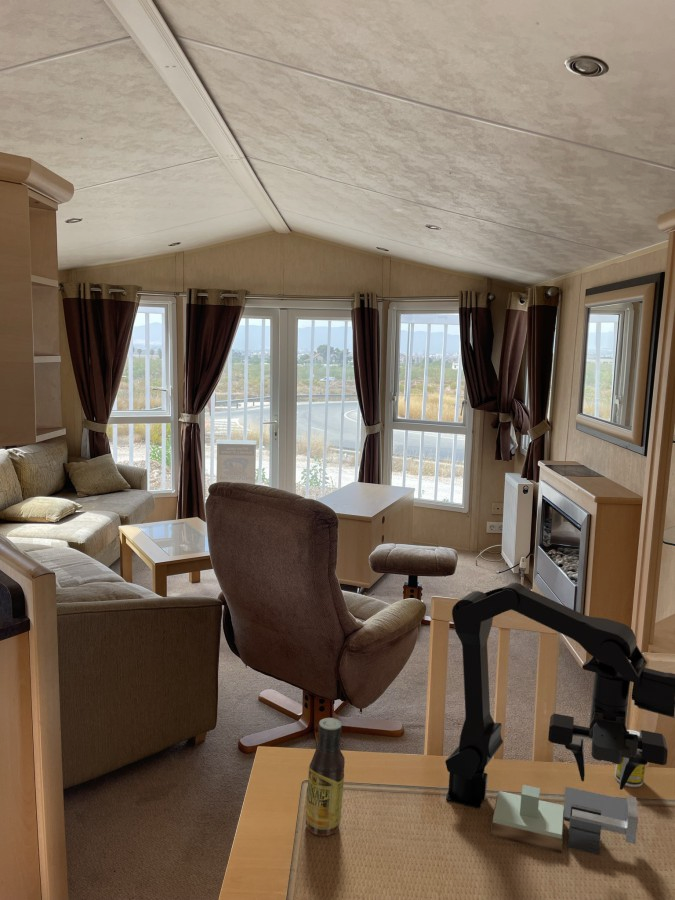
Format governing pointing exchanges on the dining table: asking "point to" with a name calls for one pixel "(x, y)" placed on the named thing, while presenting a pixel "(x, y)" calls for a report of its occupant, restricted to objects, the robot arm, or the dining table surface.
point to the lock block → (584, 831)
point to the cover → (529, 812)
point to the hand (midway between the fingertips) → (601, 784)
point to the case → (527, 836)
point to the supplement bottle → (636, 775)
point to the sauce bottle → (326, 781)
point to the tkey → (617, 825)
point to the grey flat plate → (594, 803)
